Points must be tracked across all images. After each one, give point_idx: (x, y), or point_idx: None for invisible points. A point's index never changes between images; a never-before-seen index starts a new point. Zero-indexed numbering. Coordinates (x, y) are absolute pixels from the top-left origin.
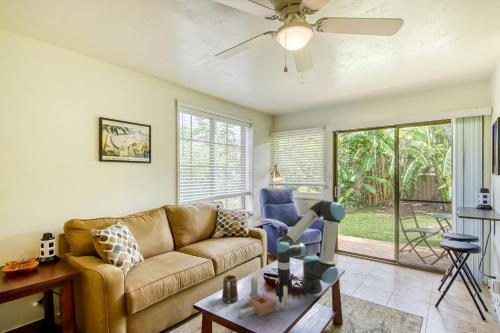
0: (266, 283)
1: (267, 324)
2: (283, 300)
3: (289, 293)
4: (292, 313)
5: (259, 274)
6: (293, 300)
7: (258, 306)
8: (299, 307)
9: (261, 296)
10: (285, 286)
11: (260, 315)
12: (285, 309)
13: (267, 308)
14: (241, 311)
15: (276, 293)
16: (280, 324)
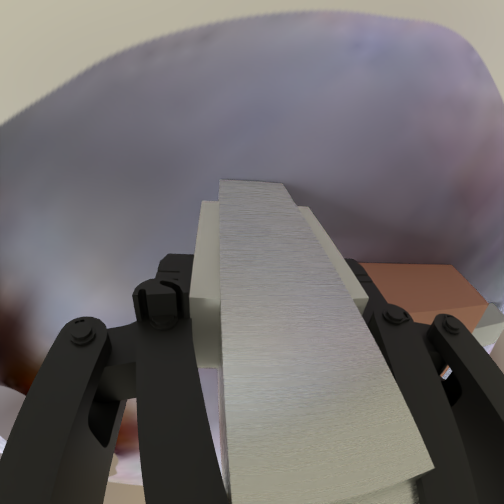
0: (117, 452)
1: (496, 164)
2: (322, 253)
3: (136, 309)
4: (224, 95)
5: (110, 477)
6: (43, 273)
7: (475, 325)
8: (64, 142)
9: None
10: None
11: (454, 268)
12: (254, 186)
13: (419, 289)
14: (495, 336)
15: (453, 389)
16: (456, 82)
